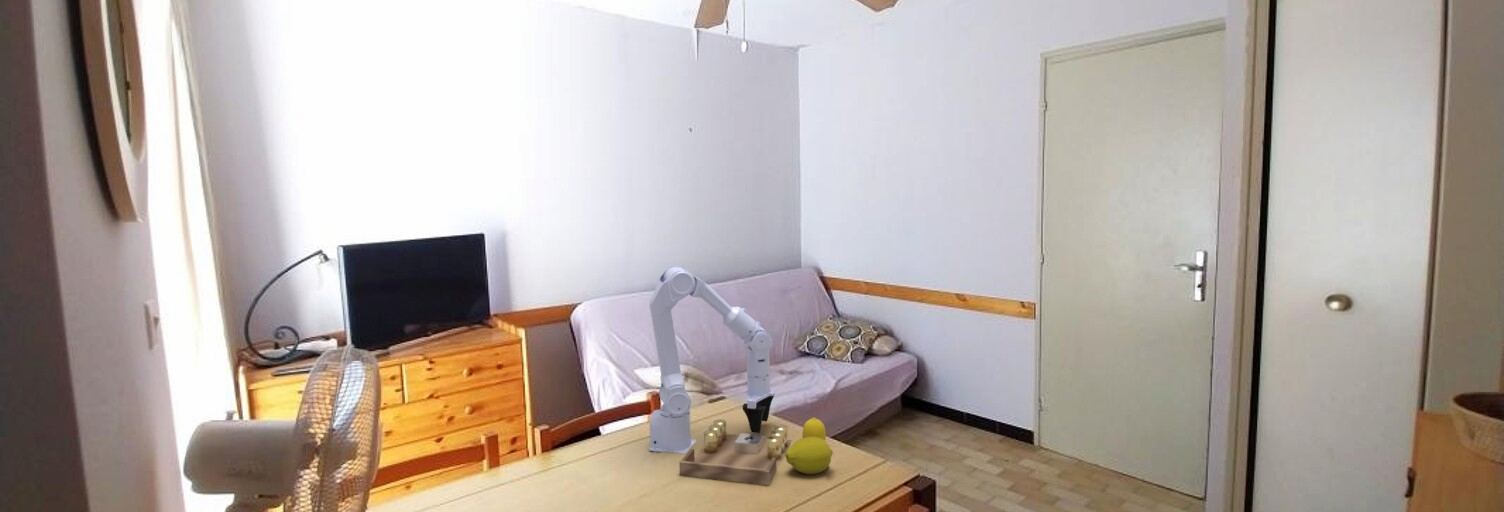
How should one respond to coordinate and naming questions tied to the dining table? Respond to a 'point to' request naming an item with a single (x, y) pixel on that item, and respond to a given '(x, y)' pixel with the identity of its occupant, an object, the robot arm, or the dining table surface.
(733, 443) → the tray
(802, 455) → the lemon
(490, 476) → the dining table surface
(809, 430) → the lemon
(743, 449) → the square block with knob
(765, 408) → the robot arm
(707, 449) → the spacers
